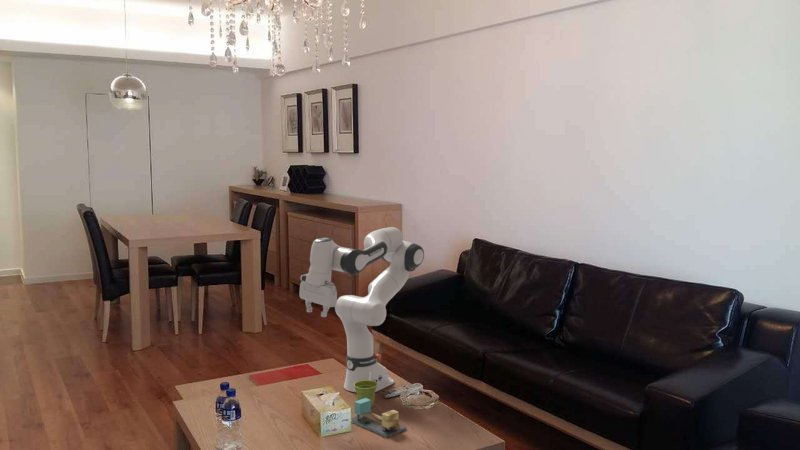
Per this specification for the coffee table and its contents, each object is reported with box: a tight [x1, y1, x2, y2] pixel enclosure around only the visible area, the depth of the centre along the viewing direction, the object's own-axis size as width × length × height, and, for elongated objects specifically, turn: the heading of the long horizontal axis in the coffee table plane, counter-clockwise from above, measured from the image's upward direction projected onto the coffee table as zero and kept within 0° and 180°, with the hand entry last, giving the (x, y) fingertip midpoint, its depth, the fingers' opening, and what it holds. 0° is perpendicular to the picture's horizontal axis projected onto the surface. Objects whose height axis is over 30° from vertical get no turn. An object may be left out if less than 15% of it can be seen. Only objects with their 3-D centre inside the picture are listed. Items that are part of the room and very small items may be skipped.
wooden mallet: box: [362, 409, 402, 431], centre depth 247 cm, size 6×19×6 cm, turn 44°
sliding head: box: [354, 398, 372, 418], centre depth 252 cm, size 6×3×6 cm, turn 134°
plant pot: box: [354, 380, 377, 408], centre depth 267 cm, size 9×9×9 cm
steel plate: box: [351, 414, 407, 439], centre depth 247 cm, size 10×20×1 cm, turn 44°
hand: (316, 314), depth 263 cm, fingers open, 8 cm apart
